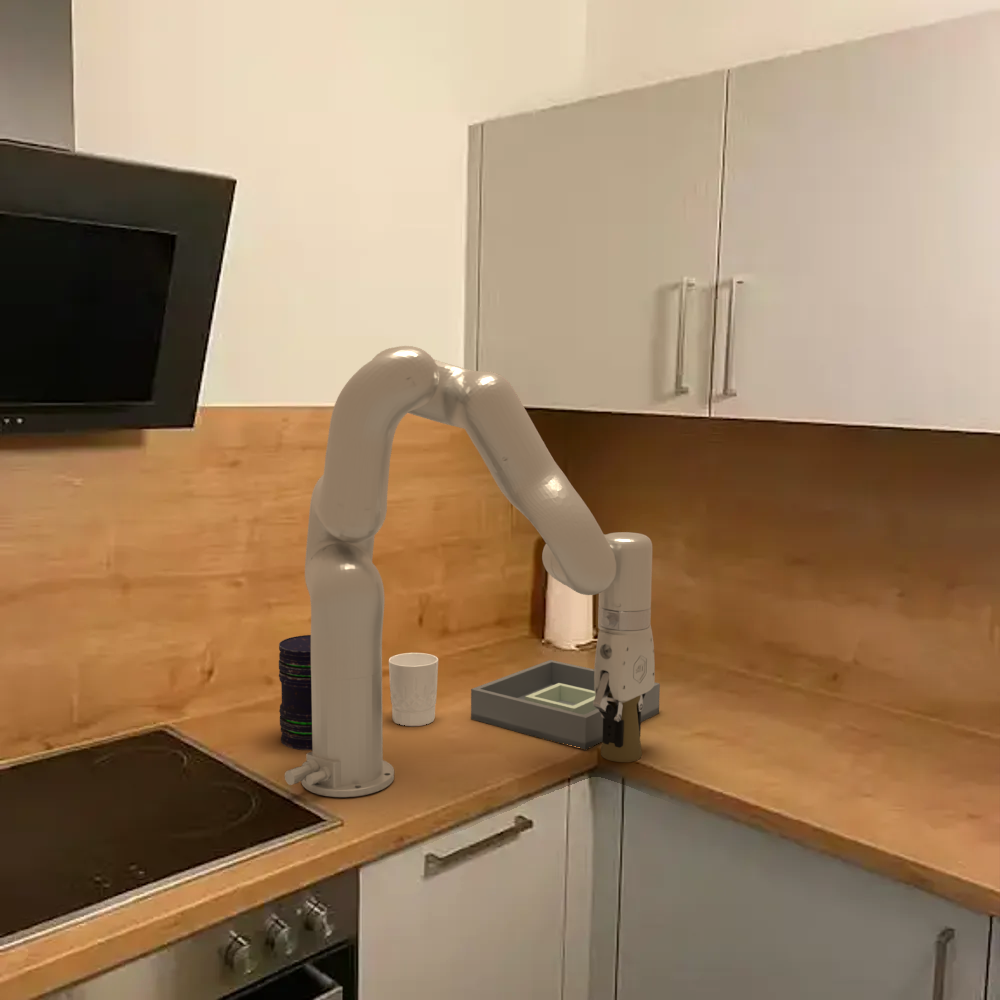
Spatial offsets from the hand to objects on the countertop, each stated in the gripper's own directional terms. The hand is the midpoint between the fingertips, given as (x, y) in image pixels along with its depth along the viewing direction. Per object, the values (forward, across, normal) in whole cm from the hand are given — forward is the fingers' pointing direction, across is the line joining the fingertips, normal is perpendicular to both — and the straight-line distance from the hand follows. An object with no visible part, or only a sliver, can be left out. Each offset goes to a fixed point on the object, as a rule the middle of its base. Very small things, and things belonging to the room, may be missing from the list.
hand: (621, 739), depth 153 cm
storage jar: (+3, -24, +40) cm, 47 cm away
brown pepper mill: (+2, 0, 0) cm, 2 cm away
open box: (+2, +9, +16) cm, 19 cm away
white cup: (+3, -8, +34) cm, 35 cm away
